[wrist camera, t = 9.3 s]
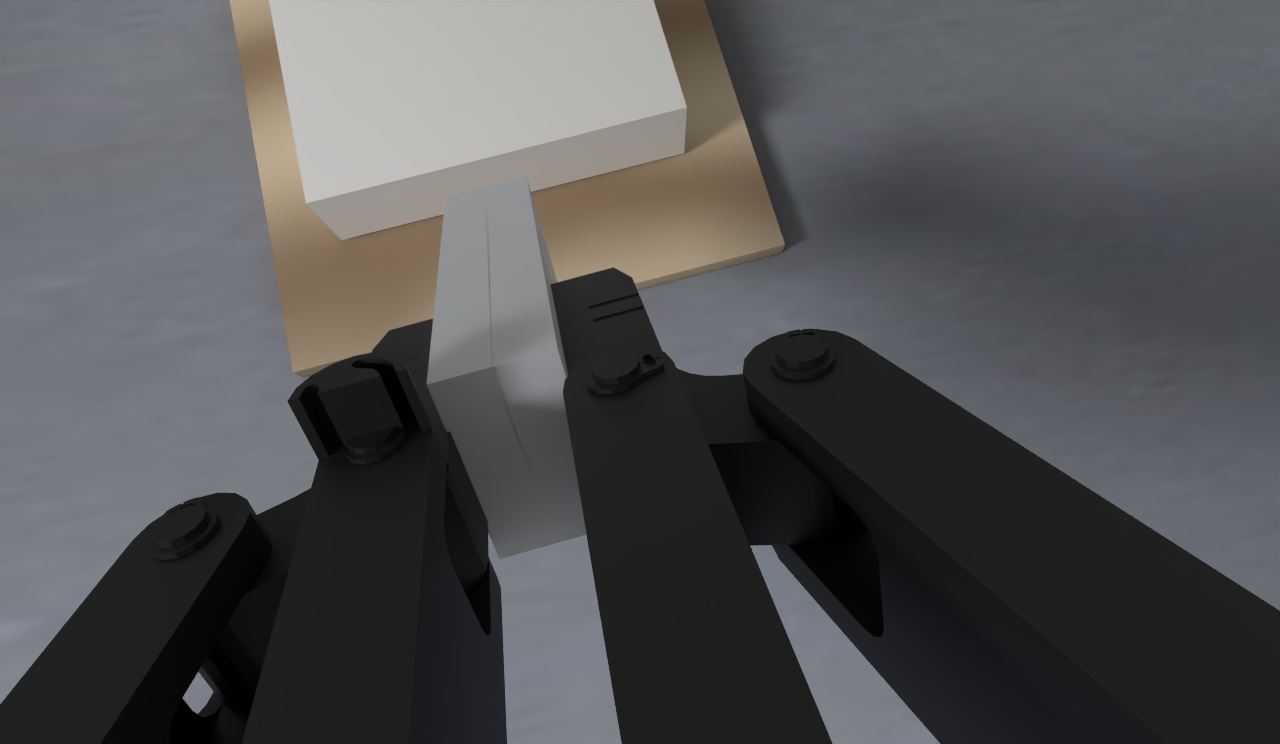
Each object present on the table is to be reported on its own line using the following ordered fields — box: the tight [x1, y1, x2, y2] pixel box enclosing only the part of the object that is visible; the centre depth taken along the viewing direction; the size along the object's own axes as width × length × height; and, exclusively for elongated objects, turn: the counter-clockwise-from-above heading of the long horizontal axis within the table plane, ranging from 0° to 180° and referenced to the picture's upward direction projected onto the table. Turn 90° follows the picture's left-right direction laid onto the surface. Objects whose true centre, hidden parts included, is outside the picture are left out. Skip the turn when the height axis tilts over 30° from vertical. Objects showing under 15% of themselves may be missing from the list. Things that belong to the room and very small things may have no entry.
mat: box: [230, 0, 785, 377], centre depth 25 cm, size 18×14×1 cm
